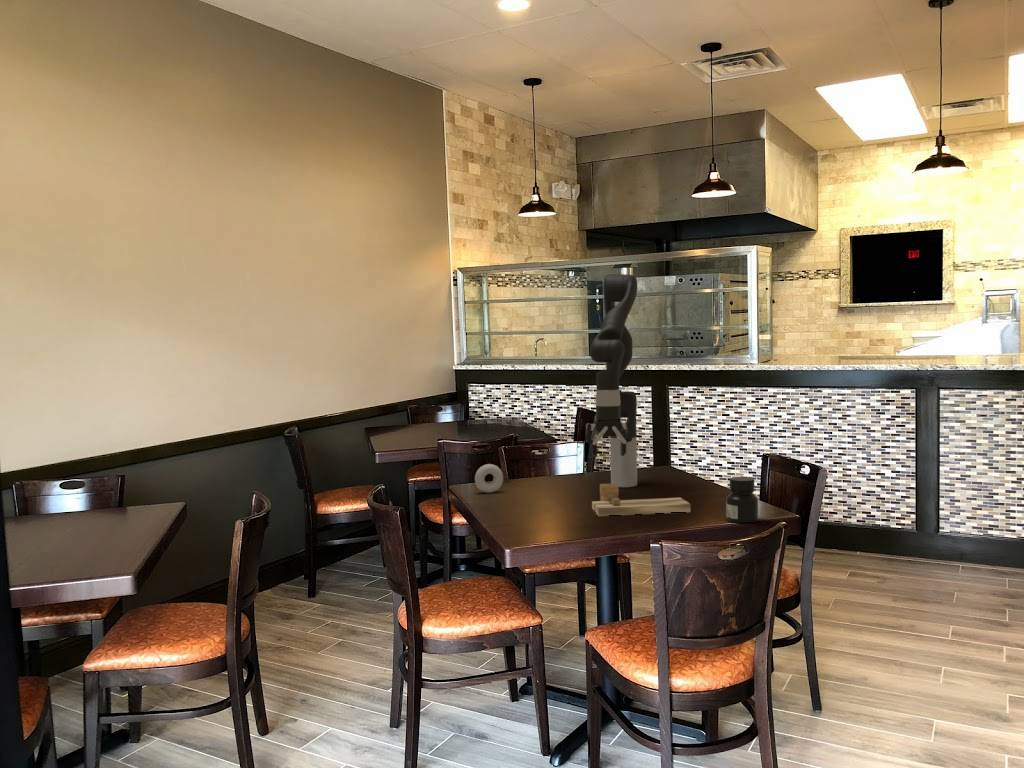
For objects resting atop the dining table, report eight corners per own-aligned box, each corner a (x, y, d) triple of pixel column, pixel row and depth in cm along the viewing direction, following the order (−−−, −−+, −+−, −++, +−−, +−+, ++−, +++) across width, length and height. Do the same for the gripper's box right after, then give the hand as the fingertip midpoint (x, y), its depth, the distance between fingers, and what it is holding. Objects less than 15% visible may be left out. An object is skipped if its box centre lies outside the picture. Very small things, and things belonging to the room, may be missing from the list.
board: (592, 509, 264) (591, 501, 264) (680, 505, 267) (680, 497, 267) (598, 516, 254) (598, 508, 254) (690, 512, 257) (690, 503, 257)
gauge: (599, 505, 270) (599, 483, 269) (615, 504, 270) (614, 482, 270) (608, 514, 256) (608, 491, 256) (625, 513, 257) (625, 490, 257)
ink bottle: (725, 516, 251) (724, 475, 250) (756, 516, 249) (756, 475, 249) (727, 523, 241) (727, 481, 240) (760, 524, 240) (759, 482, 239)
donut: (476, 494, 292) (475, 465, 291) (474, 492, 295) (473, 464, 294) (504, 492, 294) (504, 463, 294) (502, 490, 298) (501, 462, 297)
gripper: (627, 402, 270) (628, 453, 270) (583, 403, 268) (583, 455, 269) (633, 404, 262) (634, 457, 263) (587, 405, 261) (588, 458, 262)
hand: (608, 456), depth 266 cm, fingers open, 8 cm apart
